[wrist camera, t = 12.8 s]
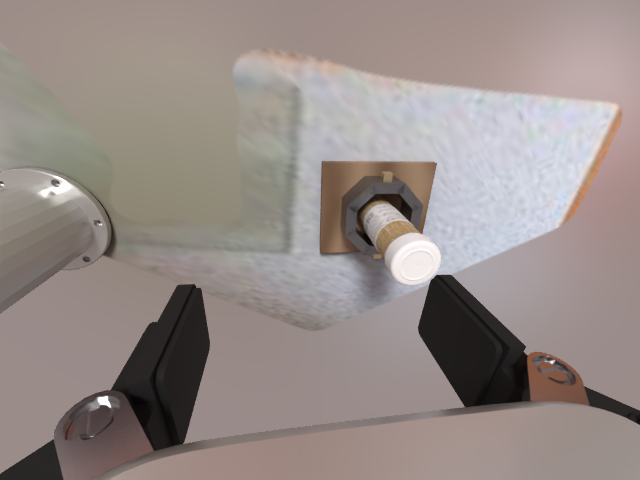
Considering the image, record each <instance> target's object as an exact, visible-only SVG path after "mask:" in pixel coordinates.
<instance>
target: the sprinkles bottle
mask: <svg viewBox="0 0 640 480" xmlns="http://www.w3.org/2000/svg"><path fill="white" fill-rule="evenodd" d="M357 217H358V220H359V222H360V223H361V224H362V225H363V227H364V229H365V231H366V233H367V234H368V236H369V238H370V239H371V241H372V243H373V244H374V246H375V248H376V249H377V251H378V252H379V253H380V254H381V256H382V257H383V259H384V261H385V264H386V267H387V269H388V270H389V272H390V273H391V275H392V276H393V278H394V279H395V280H396V281H397V282H399V283H401V284H404V285H409V286H413V285H418V284H422V283H424V282H426V281H428V280H429V279H430V278H432V277H433V276H434V275H435V273H436V272H437V270H438V269H439V267H440V263H441V254H440V251H439V249H438V247H437V246H436V245H435V244H434V243H433V242H432V241H431V240H430V239H429V238H428V237H427V236H425V235H423V234H421V233H420V232H419V231H418V230H417V229H416V228H415V227H414V226H413V225H412V224H411V223H410V222H409V221H408V220H407V219H406V218H405V217H404V216H403V215H402V214H401V213H400V212H399V211H398V210H397V209H396V208H395V207H393V206H392V205H391V204H390V202H389V201H388V200H387V199H386V198H384V197H382V196H378V195H376V196H375V195H374V196H373V197H372V198H370V199H369V200H368V201H367V202H366V203H365V204H364V205H363V206H362V207H361V208H359V209H358V211H357Z"/></svg>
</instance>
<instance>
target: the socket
mask: <svg viewBox="0 0 640 480" xmlns="http://www.w3.org/2000/svg"><path fill="white" fill-rule="evenodd" d="M375 194H397V195H398V196H399V198H400V199H401V200H402V202H401V208H400V213H401V214H402V215H403V216H404V217H405V218H406V219H407V220H408V221H409V222H410V223H411V224H412V225H413V226H414V227H415V228H416V229H417V230H419V225H420V220H421V215H422V210H423V204H422V203H421V202H420V201H419V199H418V198H417V197H416V196H415V194H414V193H413V192H412V191H411V189H410V188H409V187H408V186H407V185H406V183H404V182H403V181H401V180H400V179H398V178H397V177H396V176H393V173H392V172H390V171H382V172H381V176H364V177H363V178H362V179H361V180H360V181H358V182H357V183H356V184H355V185H354V186H353V187H352V188H351V189H350V190H349V191H348V192H347V193H346V194H345V195H344V196H342V204H341V221H340V225H341V227H342V230H343V232H344V234H345V236H346V237H347V238H348V239H349V240H350V241H351V242H352V243H353V244H354V245H355V246H356V247H357V248H358V249H359V250H360V251H361V252H362V253H363V254H364V255H372V257H373V259H381V254H380V253H379V252H378V251H377V249H376V248H375V246H374V244H373V243H372V241H371V239H370V238H369V236H368V234H362V233H361V232H360V231H359V230H358V229H357V228H356V220H357V210H358V209H359V208H361V207H362V206H363V205H364V204H365V203H366V202H367V201H368V200H369V199H370V198H372V197H373V196H374V195H375Z"/></svg>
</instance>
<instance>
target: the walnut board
mask: <svg viewBox="0 0 640 480" xmlns="http://www.w3.org/2000/svg"><path fill="white" fill-rule="evenodd" d="M436 165H437V163H435V162H352V161H322V178H321V218H320V253H336V252H361V251H360V250H359V249H358V248H357V247H356V246H355V245H354V244H353V243H352V242H351V241H350V240H349V239H348V238H347V237H346V236H345V234H344V232H343V230H342V227H341V225H340V221H341V204H342V196H344V195H345V194H346V193H347V192H348V191H349V190H350V189H351V188H352V187H353V186H354V185H355V184H356V183H357V182H358V181H360V180H361V179H362V178H363V177H364V176H381V172H382V171H390V172H392V173H393V176H396V177H397V178H398V179H400V180H401V181H403V182H404V183H406V185H407V186H408V187H409V188H410V189H411V191H412V192H413V193H414V194H415V196H416V197H417V198H418V199H419V201H420V202H421V203H422V204H423V210H422V215H421V220H420V225H419V230H418V231H419V232H420V233H421V234H422V233H423V228H424V223H425V218H426V213H427V208H428V204H429V199H430V194H431V189H432V184H433V179H434V175H435V170H436ZM376 195H378V196H382V197H384V198H386V199H387V200H388V201H389V202H390V204H391V205H392V206H393V207H395V208H396V209H397V210H398V211H399V212H400V208H401V202H402V200H401V199H400V198H399V196H398V195H397V194H375V196H376ZM357 211H358V210H357ZM356 228H357V229H358V230H359V231H360V232H361V233H362V234H367V233H366V231H365V229H364V227H363V225H362V224H361V223H360V222H359V220H358V217H357V220H356Z"/></svg>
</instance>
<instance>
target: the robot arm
mask: <svg viewBox="0 0 640 480" xmlns="http://www.w3.org/2000/svg"><path fill="white" fill-rule="evenodd" d="M110 241H111V226H110V222H109V219H108V216H107V214H106V212H105V210H104V209H103V207H102V206H101V204H100V203H99V202H98V200H97V199H96V198H95V197H94V196H93V195H92V194H91V193H90V192H89V191H88V190H86V189H85V188H84V187H82V186H81V185H80V184H78V183H77V182H75V181H73V180H71V179H70V178H68V177H66V176H64V175H61V174H59V173H56V172H53V171H49V170H45V169H41V168H30V167H27V168H16V169H12V170H8V171H4V172H2V173H0V314H1V313H2V312H3V311H5V310H6V309H8V308H9V307H10V306H12V305H13V304H14V303H16V302H17V301H19V300H20V299H21V298H23V297H24V296H25V295H27V294H28V293H29V292H31V291H32V290H34V289H35V288H36V287H38V286H39V285H40V284H42V283H43V282H45V281H46V280H47V279H49V278H50V277H51V276H53V275H54V274H55V273H57V272H58V271H59V270H72V269H79V268H83V267H86V266H88V265H90V264H92V263H94V262H95V261H96V260H98V259H99V258H100V257H101V256H102V255H103V254H104V253H105V252H106V251H107V249H108V247H109V245H110ZM418 330H419V334H420V336H421V338H422V339H423V341H424V343H425V344H426V346H427V347H428V349H429V351H430V352H431V354H432V355H433V357H434V358H435V360H436V362H437V363H438V365H439V366H440V368H441V369H442V371H443V373H444V374H445V376H446V377H447V379H448V380H449V382H450V384H451V385H452V387H453V388H454V390H455V392H456V393H457V395H458V396H459V398H460V400H461V401H462V403H463V404H464V406H465V407H464V408H455V409H447V410H438V411H429V412H421V413H412V414H403V415H395V416H386V417H379V418H370V419H362V420H354V421H346V422H338V423H329V424H321V425H313V426H305V427H297V428H289V429H281V430H273V431H265V432H258V433H251V434H243V435H237V436H229V437H223V438H216V439H209V440H202V441H197V442H192V443H187V444H183V443H184V441H185V437H186V434H187V430H188V427H189V423H190V419H191V416H192V412H193V408H194V404H195V401H196V397H197V393H198V390H199V386H200V382H201V378H202V375H203V371H204V368H205V364H206V360H207V356H208V353H209V348H210V341H209V334H208V327H207V322H206V315H205V309H204V303H203V297H202V291H201V288H196V286H195V284H188V285H178V286H177V287H176V289H175V291H174V292H173V294H172V296H171V298H170V300H169V302H168V304H167V305H166V307H165V309H164V311H163V313H162V314H161V316H160V318H159V320H158V322H152V323H150V324H149V325H148V327H147V328H146V330H145V332H144V333H143V335H142V337H141V339H140V340H139V342H138V344H137V346H136V347H135V349H134V351H133V353H132V354H131V356H130V358H129V359H128V361H127V363H126V365H125V366H124V368H123V370H122V371H121V373H120V375H119V377H118V378H117V380H116V382H115V384H114V385H113V387H112V389H111V390H109V391H108V390H107V391H102V392H99V393H95V394H93V395H91V396H89V397H86V398H84V399H83V400H81V401H80V402H78V403H77V404H75V405H74V406H73V407H72V408H71V409H70V410H69V411H67V412H66V413H65V415H64V416H63V417H62V418H61V420H60V421H59V422H58V424H57V426H56V429H55V431H54V439H53V440H52V441H50V442H49V443H47V444H45V445H44V446H43V447H41V448H39V449H38V450H36V451H35V452H33V453H32V454H30V455H29V456H27V457H25V458H24V459H22V460H21V461H19V462H18V463H16V464H15V465H13V466H12V467H10V468H9V469H7V470H5V471H4V472H2V473H1V474H0V480H640V411H639V410H637V409H635V408H632V407H630V406H628V405H625V404H623V403H621V402H618V401H616V400H614V399H612V398H609V397H607V396H605V395H603V394H600V393H598V392H596V391H594V390H591V389H589V388H587V387H585V386H584V385H583V381H582V379H581V377H580V376H579V374H578V373H577V372H576V371H575V370H574V369H573V368H572V367H571V366H570V365H568V364H567V363H565V362H564V361H562V360H561V359H559V358H557V357H554V356H552V355H549V354H546V353H542V352H533V353H530V354H529V355H528V356H527V355H526V354H525V353H524V350H525V348H526V346H525V345H524V344H523V343H522V342H521V341H520V340H519V339H518V338H517V337H515V336H514V335H513V334H512V333H511V332H510V331H509V330H508V329H507V328H506V327H505V326H504V325H503V324H502V323H501V322H500V321H499V320H498V319H497V318H496V317H495V316H493V315H492V314H491V313H490V312H489V311H488V310H487V309H486V308H485V307H484V306H483V305H482V304H481V303H480V302H479V301H478V300H477V299H476V298H475V297H474V296H473V295H472V294H470V292H468V291H467V290H466V289H465V288H464V287H463V286H462V285H461V284H460V283H459V282H458V281H457V280H456V279H455V278H454V277H453V276H451V275H436V276H435V277H434V279H432V280H431V282H430V285H429V289H428V293H427V296H426V300H425V304H424V308H423V311H422V315H421V319H420V322H419V326H418Z"/></svg>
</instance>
